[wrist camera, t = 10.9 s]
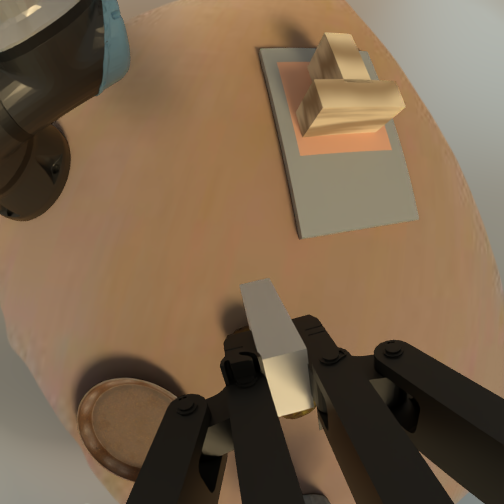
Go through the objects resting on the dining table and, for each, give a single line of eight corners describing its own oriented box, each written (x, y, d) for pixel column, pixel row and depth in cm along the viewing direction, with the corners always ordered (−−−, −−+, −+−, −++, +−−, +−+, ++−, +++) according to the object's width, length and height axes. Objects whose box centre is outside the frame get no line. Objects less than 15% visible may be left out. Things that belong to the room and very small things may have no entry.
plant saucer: (217, 465, 40) (217, 476, 37) (110, 478, 38) (105, 488, 35) (180, 360, 40) (178, 366, 37) (67, 380, 38) (58, 386, 35)
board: (413, 220, 45) (419, 219, 44) (299, 239, 43) (302, 238, 42) (364, 56, 47) (367, 51, 45) (258, 54, 44) (260, 48, 43)
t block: (375, 132, 44) (405, 106, 35) (302, 137, 43) (322, 107, 34) (352, 67, 45) (374, 36, 36) (282, 68, 43) (296, 31, 34)
